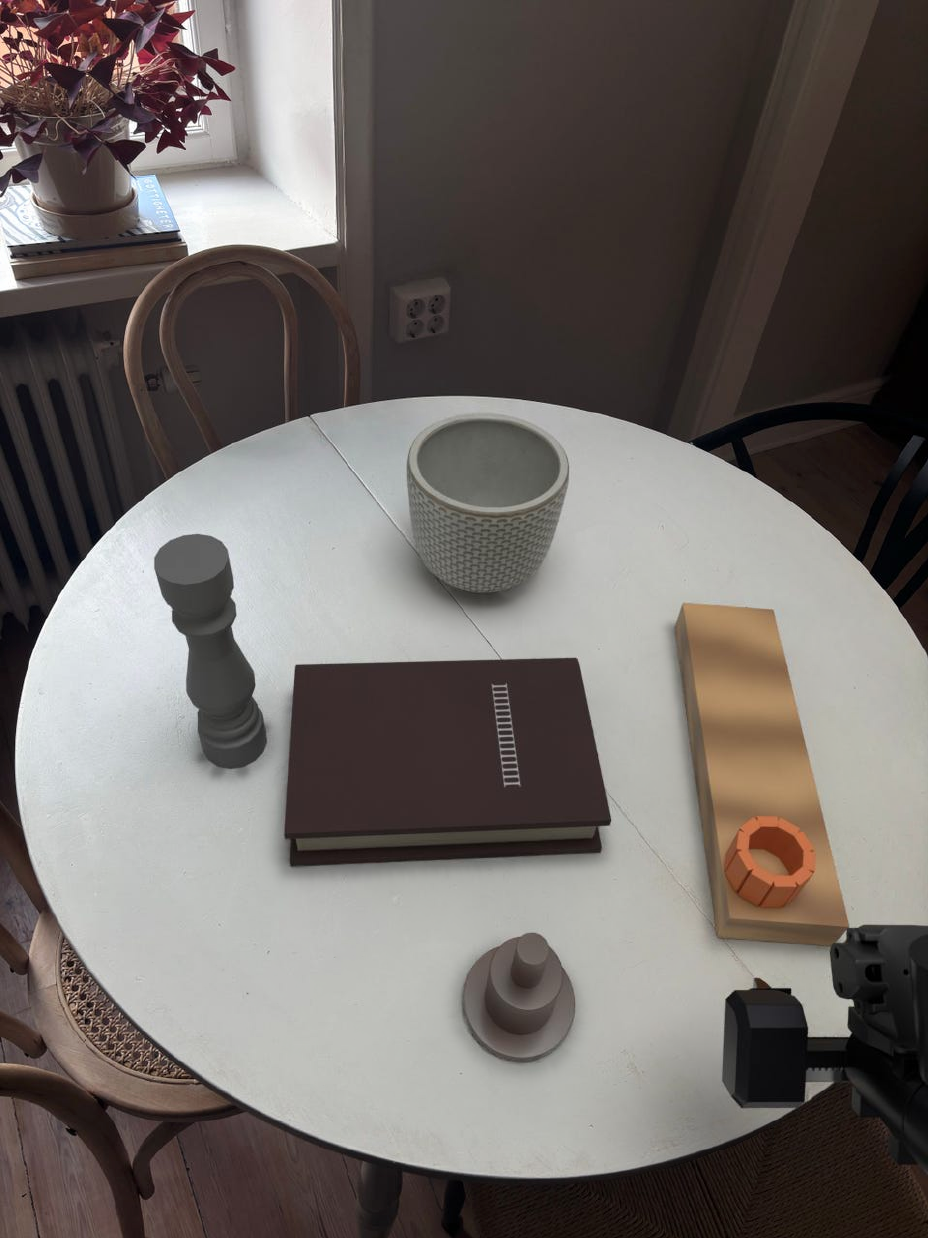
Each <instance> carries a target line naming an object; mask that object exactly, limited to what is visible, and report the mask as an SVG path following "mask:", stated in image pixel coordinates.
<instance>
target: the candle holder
mask: <svg viewBox="0 0 928 1238" xmlns="http://www.w3.org/2000/svg"><path fill="white" fill-rule="evenodd" d="M153 560H154V561H153V569H154V572H155V576H156V580H157V582H158V586H159V590H160V593H161V597H162V599H163V600H164V601H165V603H166V604H167V605H168V606H169V607H170V608H171V621H172V624H173V625H174V627H175V628H176V630H177V631H178V633H180V634H181V635H182V636H183V635H184V636H185V640H186V645H187V647H188V653H187V654H188V655H187V666H186V667H187V668H186V675H185V676H186V678H185V691H186V694H187V697H188V698H189V700H190V701H191V703H192V705H193V706H194V707H195V708H196V709H198V710H197V723H196V724H197V735H198V738H199V741H200V745H201V749H202V752H203V754H204V755H205V757H206V759H207V760H208V762H210V763H212V764H213V765H214V766H216V767H218V768H222V769H223V768H224V769H229V770H232V769H240V768H244V767H246V766H248V765H250V764H252V763H254V762H255V761H256V760H257V759H258V758H259V757H260V756H261V755H262V754H263V753H264V751H265V748H266V746H267V743H268V739H267V730H266V725H265V721H264V715H263V712H262V710H261V709H260V707H259V704H258V702H257V701H256V699H255V698H254V696H253V695H254V692H255V691H256V690H255V689H256V675H255V670H254V669H253V667H252V665H251V664H250V662H249V661H248V660H247V657H246V656H245V654H244V652H243V651H242V650H241V647H240V646H239V644H238V642H237V641H236V639H235V637H234V632H233V627H232V626H233V624H234V622H235V620H236V618H237V605H236V604H237V603H236V602H235V601H234V599H233V598H232V597H231V596H232V595H233V591H234V588H235V584H234V583H235V582H234V575H233V570H232V564H231V559H230V554H229V549H228V548H227V546H226V545H225V544H224V543H223V541H222V540H220V539H218V538H216V537H215V536H212V535H209V534H202V533H191V534H184V535H180V536H178V537H175V538H172V539H169V540H168V541H167V542H166V543H165V544H163V545H162V546H161V547H159V548H158V551H157V552H156V554H155V556H154V557H153Z"/></svg>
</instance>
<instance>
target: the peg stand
mask: <svg viewBox="0 0 928 1238" xmlns="http://www.w3.org/2000/svg"><path fill="white" fill-rule="evenodd" d="M465 979H466V980H465V983H464V988H463V994H462V1007H463V1008H462V1009H463V1014H464V1018H465V1021H466V1025H467V1026H468V1028H469V1031H470V1032H471V1034H472V1036H473V1037H474V1038H475V1040H476V1041H477V1042H478V1044H480V1045H481V1046H482V1047H483V1048H484V1049H485V1050H486V1051H488V1052H489V1053H491V1054H492V1055H494V1056H496V1057H499V1058H501V1059H503V1060H507V1061H511V1062H520V1063H521V1062H522V1063H524V1062H532V1061H536V1060H539V1059H542V1058H544V1057H546V1056H548V1055H550V1054H551V1053H553V1052H554V1051H555V1050H556V1049H558V1047H559V1046H560V1045H561V1044H562V1043H563V1042H564V1040H565V1039H566V1037H567V1036H568V1033H569V1031H570V1030H571V1027H572V1023H573V1021H574V1019H575V1012H576V996H575V991H574V987H573V983H572V982H571V978H570V977H569V975H568V973H567V972H566V970H565V968H564V967H563V966H562V962H561V959H560V957H559V956H558V955H557V952H555V950H554V949H553V948H552V947H551V946H550V944H549V943H548V940H547V939H546V938H545V937H544V936H543V935H541V934H539V933H538V932H526V933H524V934H522V935H521V936H517V937H513V938H509V939H507V940H506V941H505V942H503V943H502V944H501V945H499V946H495V947H494V948H492V949H490V950H488V951H486V952H485V953H484V954H482V955H481V956H480V957H479V958H478V959H477V960H476V962H474V964H473V965H472V967H471V969H470V970H469V972H468V974H467V976H466V978H465Z"/></svg>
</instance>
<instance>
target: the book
mask: <svg viewBox="0 0 928 1238" xmlns="http://www.w3.org/2000/svg"><path fill="white" fill-rule="evenodd" d="M584 684H585V683H584V680H583V675H582V671H581V665H580V662H579V658H577V657H544V658H542V657H541V658H507V659H505V658H503V659H465V660H464V659H462V660H460V659H459V660H428V661H426V660H425V661H423V660H422V661H421V660H420V661H385V662H383V661H380V662H344V663H343V662H342V663H340V662H339V663H303V664H302V663H301V664H299V663H298V664H295V665H294V673H293V685H292V687H293V689H292V702H291V703H292V704H291V719H290V720H291V721H290V735H289V737H290V738H289V753H288V764H287V765H288V766H287V781H286V798H285V799H286V800H285V813H284V832H283V835H284V840H290V846H289V866H290V867H309V866H311V867H312V866H329V865H330V866H332V865H333V866H334V865H353V864H354V865H356V864H377V863H401V862H422V861H424V862H425V861H445V860H466V859H468V860H469V859H488V858H489V859H491V858H514V857H533V856H535V857H536V856H556V855H557V856H558V855H579V854H599V853H600V854H601V852H602V850H603V849H602V848H603V846H602V840H601V834H600V830H599V827H609V826H610V825H611V823H612V816H611V811H610V806H609V802H608V796H607V792H606V791H607V790H606V787H605V781H604V776H603V772H602V767H601V763H600V758H599V753H598V752H599V751H598V748H597V747H598V746H597V743H596V738H595V734H594V733H595V732H594V728H593V724H592V719H591V714H590V710H589V705H588V700H587V695H586V689H585V685H584Z"/></svg>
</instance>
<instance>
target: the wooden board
mask: <svg viewBox="0 0 928 1238" xmlns="http://www.w3.org/2000/svg"><path fill="white" fill-rule="evenodd" d="M674 631H675V639H676V646H677V647H676V648H677V652H678V653H677V654H678V660H679V661H678V662H679V668H680V675H681V682H682V690H683V697H684V704H685V711H686V712H685V713H686V720H687V726H688V734H689V741H690V742H689V743H690V747H691V754H692V755H691V756H692V764H693V769H694V778H695V785H696V792H697V793H696V794H697V801H698V806H699V813H700V820H701V828H702V829H701V830H702V835H703V843H704V851H705V858H706V865H707V872H708V880H709V887H710V894H711V901H712V909H713V917H714V924H715V930H716V937H717V938H720V939H732V940H748V941H761V942H773V943H787V944H801V945H812V946H814V945H815V946H826V947H831V945H832V944H833V943H838V941H839V939H840V938H841V937H842V936H843V935H844V934H846V931H847V929H848V928H850V923H849V919H848V915H847V911H846V906H845V902H844V898H843V894H842V890H841V885H840V881H839V877H838V873H837V869H836V865H835V861H834V855H833V852H832V848H831V843H830V839H829V835H828V831H827V828H826V827H827V826H826V823H825V819H824V815H823V811H822V806H821V802H820V799H819V797H820V796H819V794H818V789H817V785H816V781H815V776H814V773H813V768H812V764H811V760H810V756H809V751H808V748H807V744H806V739H805V735H804V730H803V726H802V723H801V717H800V714H799V710H798V706H797V702H796V698H795V694H794V690H793V685H792V681H791V676H790V673H789V668H788V665H787V659H786V656H785V652H784V647H783V644H782V639H781V635H780V631H779V627H778V622H777V618H776V614H775V611H774V609H773V608H760V607H746V606H745V607H744V606H734V605H733V606H732V605H722V604H721V605H718V604H706V603H694V602H693V603H692V602H682V604H681V607H680V610H679V613H678V615H677V618H676V622H675V624H674ZM757 816H777V818H778V820H779V819H780V818H782V819H784V820H786V821H788V822H789V823H791V824H793V825H795V826H796V827H798V828H800V830H799V832H802V831H803V832H804V834H805V835H806V837H807V838H808V840H809V842H810V843H811V845H812V846H813V848H814V851H813V852H815V871H814V873H813V875H812V877H811V878H810V879H809V881H808V882H807V884H806V885H805V886H804V888H803V889H802V890H801V892H800V893H799V894H798V896H797V897H795V898H794V899H793V900H792V901H791V902H790V903H789V904H787V905H786V906H782V908H761V907H760V904H759V905H758V906H755V905H754V904H752V903H750V902H749V901H747V900H745V899H744V898H742V897H741V896H739V895H738V893H739V891H737V892H735V891H734V889H733V887H732V886H731V884H730V882H729V880H728V879H727V877H726V875H725V873H726V871H724V865H725V857H726V852H727V850H728V848H729V847H730V845H731V843H732V841H733V839H734V838H735V836H736V834H737V832H738V830H739V829H740V827H742V826H743V825H744V824H745V823H747V822H748V821H749V820H751V819H752V818H753V817H754V818H756V817H757ZM799 832H798V833H799ZM748 851H749V852H750V854H751V856H752V857H753V859H754V861H755V862H756V864H757V866H759V867H761V868H762V869H764V870H766V871H767V872H769V873H771V874H772V875H784V876H788V875H789V872H788V871H787V869H786V868H785V866H784V864H783V863H782V861H781V859H780V858H779V857H777V856H775V855H773V854H772V853H770V852H768V851H767V850H765V849H749V850H748Z"/></svg>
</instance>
